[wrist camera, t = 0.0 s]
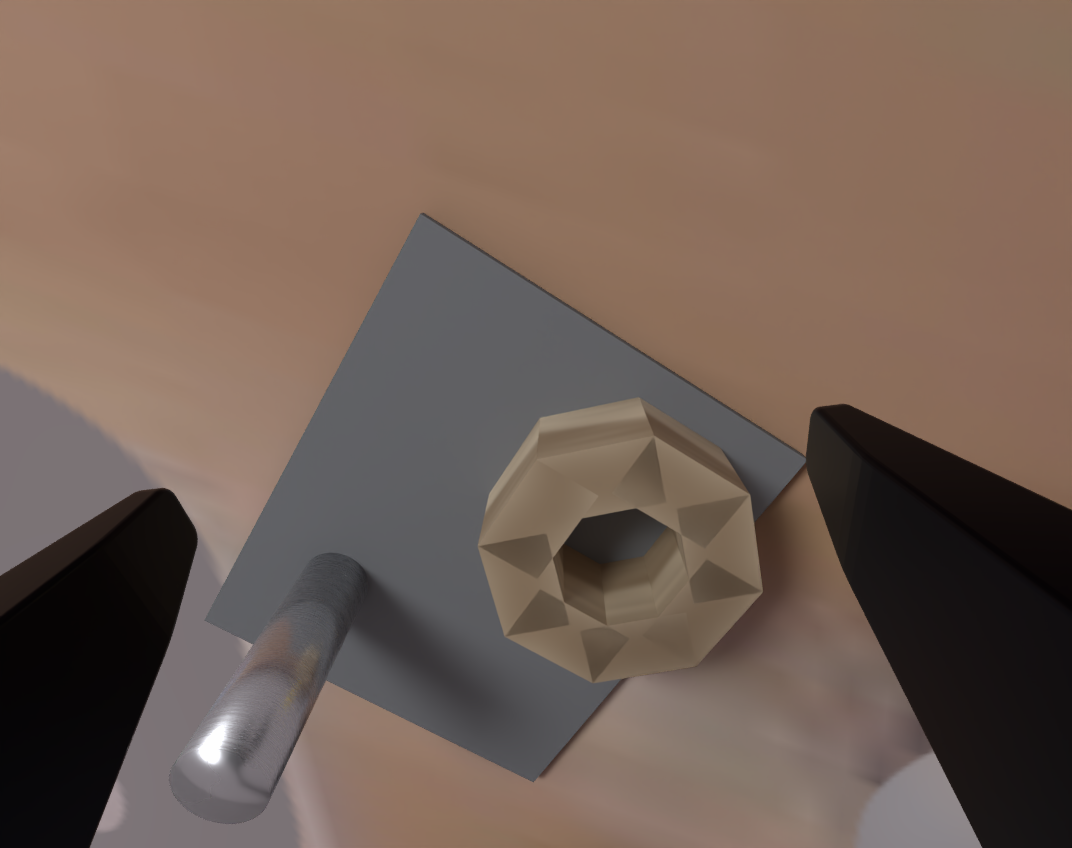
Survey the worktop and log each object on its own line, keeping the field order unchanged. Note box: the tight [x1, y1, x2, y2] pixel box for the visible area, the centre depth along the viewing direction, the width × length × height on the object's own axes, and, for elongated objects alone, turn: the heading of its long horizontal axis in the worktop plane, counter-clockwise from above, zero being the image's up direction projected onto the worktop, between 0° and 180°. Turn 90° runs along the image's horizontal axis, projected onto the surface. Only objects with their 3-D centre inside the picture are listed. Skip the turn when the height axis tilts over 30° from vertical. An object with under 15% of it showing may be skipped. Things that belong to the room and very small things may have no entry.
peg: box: [169, 553, 368, 824], centre depth 23 cm, size 3×3×10 cm
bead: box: [478, 397, 763, 683], centre depth 24 cm, size 9×9×4 cm
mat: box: [205, 213, 806, 782], centre depth 27 cm, size 20×17×1 cm
